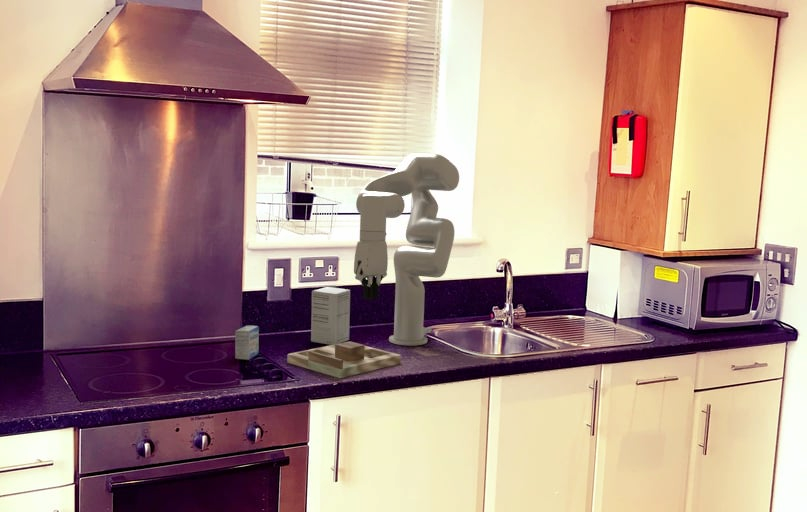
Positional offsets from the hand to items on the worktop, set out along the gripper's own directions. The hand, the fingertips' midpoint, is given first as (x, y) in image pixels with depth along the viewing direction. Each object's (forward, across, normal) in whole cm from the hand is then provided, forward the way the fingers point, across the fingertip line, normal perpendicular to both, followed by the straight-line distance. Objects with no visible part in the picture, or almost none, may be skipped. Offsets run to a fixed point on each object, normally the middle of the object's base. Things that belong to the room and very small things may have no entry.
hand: (370, 298), depth 259 cm
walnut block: (+17, +8, 0) cm, 18 cm away
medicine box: (+19, +23, -28) cm, 41 cm away
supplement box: (+19, -10, -27) cm, 35 cm away
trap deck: (+19, +6, -4) cm, 20 cm away
